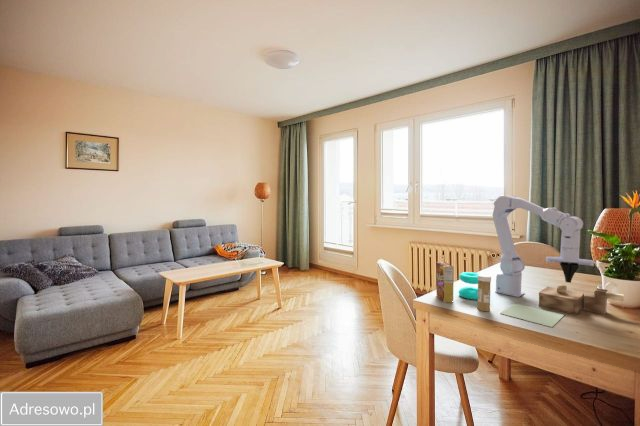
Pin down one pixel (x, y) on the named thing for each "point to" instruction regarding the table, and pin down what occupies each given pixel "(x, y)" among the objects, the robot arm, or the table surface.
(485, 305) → the sprinkles bottle
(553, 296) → the lid
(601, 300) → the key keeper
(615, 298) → the cream rectangular bar
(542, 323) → the mat
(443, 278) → the candy box
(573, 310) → the toolbox
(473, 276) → the donuts
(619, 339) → the table surface
